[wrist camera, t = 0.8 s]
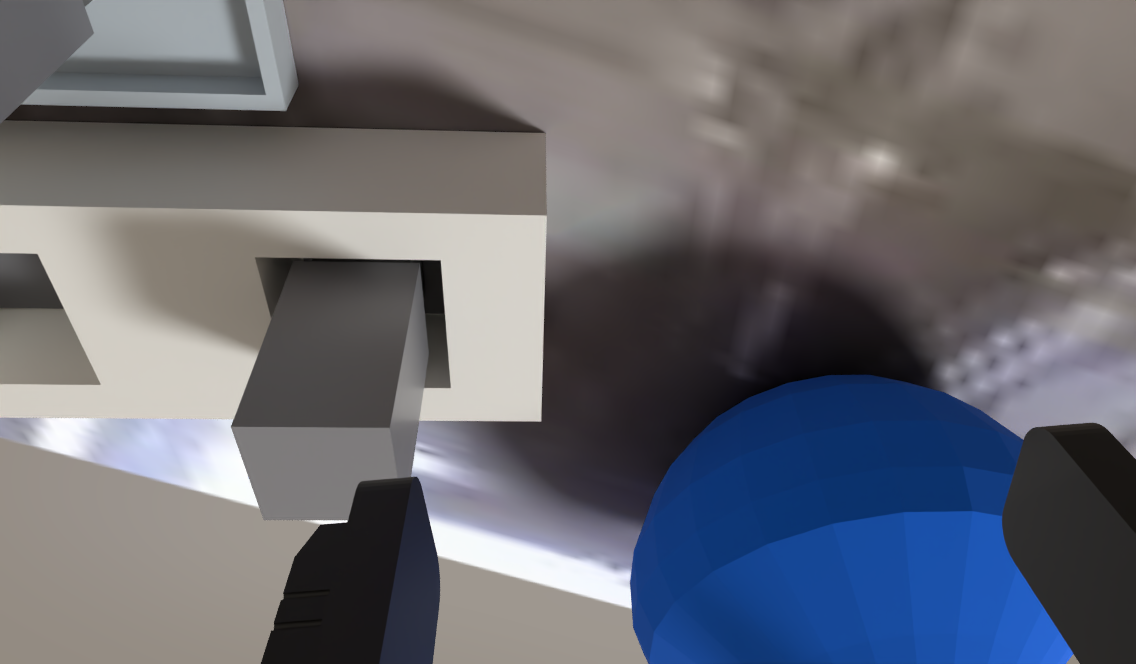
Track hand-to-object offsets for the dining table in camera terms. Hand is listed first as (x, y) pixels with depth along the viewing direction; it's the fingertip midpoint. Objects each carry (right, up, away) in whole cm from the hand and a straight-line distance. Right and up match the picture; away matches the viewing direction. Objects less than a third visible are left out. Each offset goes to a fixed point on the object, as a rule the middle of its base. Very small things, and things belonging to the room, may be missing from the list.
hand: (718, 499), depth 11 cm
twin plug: (-9, +5, +19) cm, 21 cm away
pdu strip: (-15, +6, +19) cm, 25 cm away
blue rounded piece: (+10, -3, +28) cm, 30 cm away
